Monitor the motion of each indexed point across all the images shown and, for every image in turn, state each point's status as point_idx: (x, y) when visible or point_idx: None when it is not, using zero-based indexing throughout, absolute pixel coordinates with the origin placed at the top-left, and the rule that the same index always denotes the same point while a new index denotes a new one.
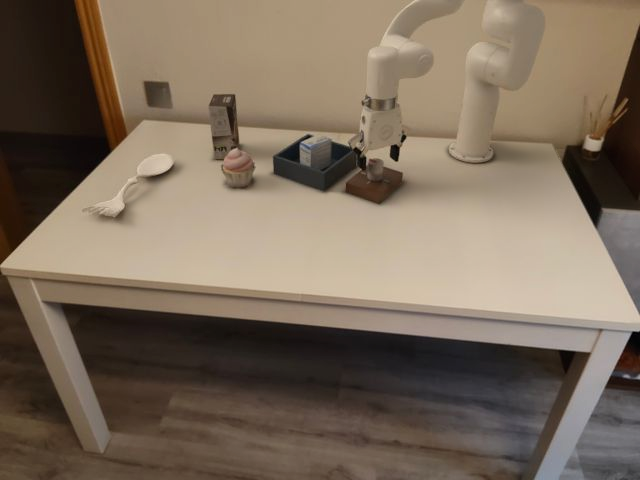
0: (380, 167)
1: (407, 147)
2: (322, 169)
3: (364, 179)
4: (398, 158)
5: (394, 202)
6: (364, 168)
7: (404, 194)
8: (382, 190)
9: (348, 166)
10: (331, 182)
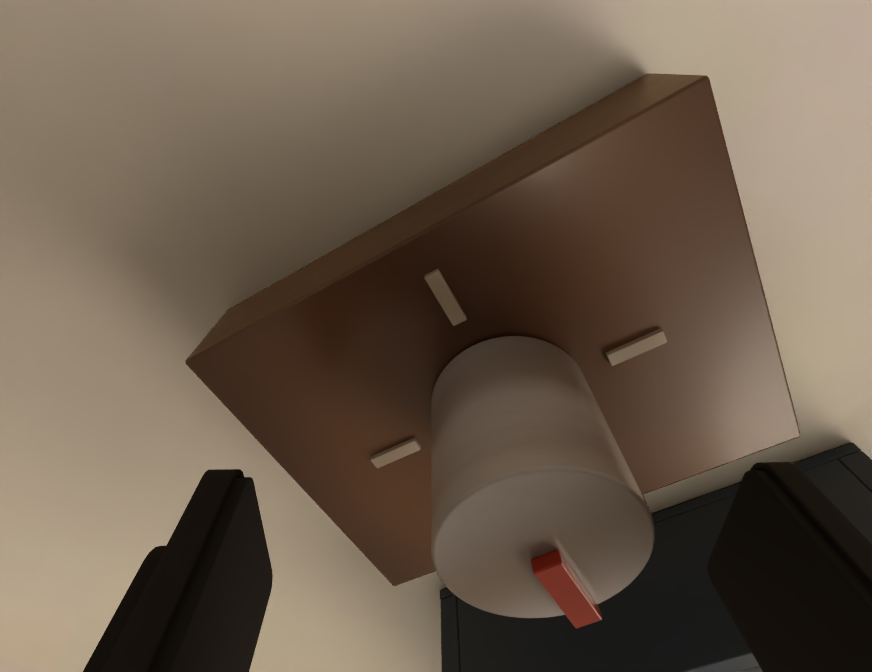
0: (542, 440)
1: (10, 635)
2: None
3: (621, 409)
4: (190, 506)
5: (485, 18)
6: (804, 487)
7: (302, 115)
8: (620, 135)
9: None
10: None
